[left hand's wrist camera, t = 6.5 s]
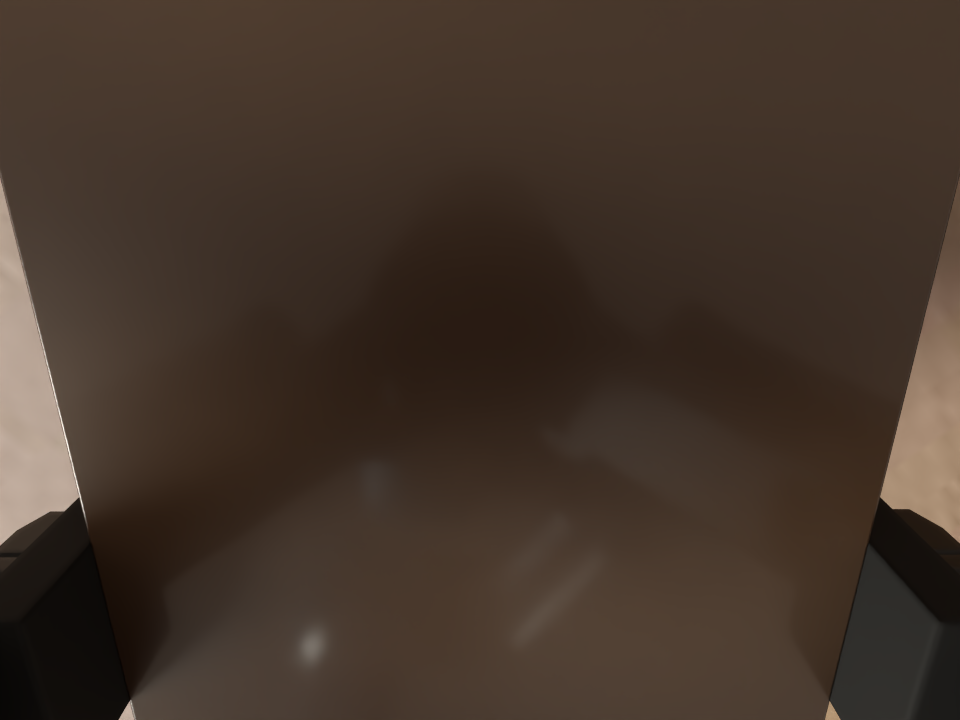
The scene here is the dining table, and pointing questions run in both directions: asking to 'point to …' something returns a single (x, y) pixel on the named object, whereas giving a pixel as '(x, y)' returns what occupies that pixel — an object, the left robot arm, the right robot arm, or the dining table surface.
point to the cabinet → (479, 338)
